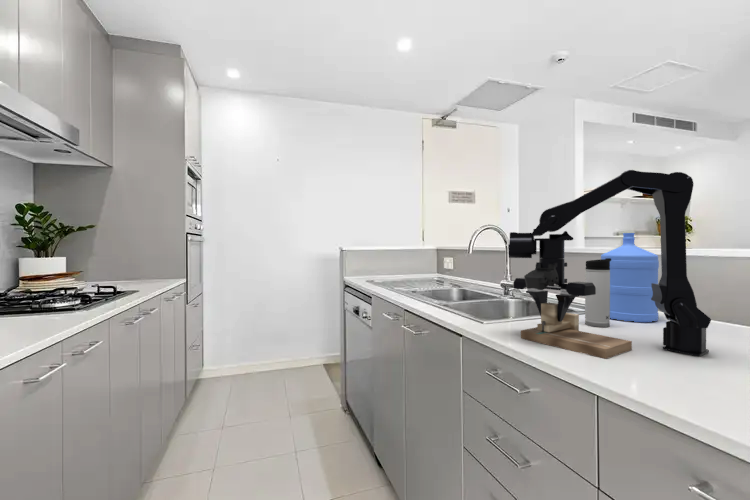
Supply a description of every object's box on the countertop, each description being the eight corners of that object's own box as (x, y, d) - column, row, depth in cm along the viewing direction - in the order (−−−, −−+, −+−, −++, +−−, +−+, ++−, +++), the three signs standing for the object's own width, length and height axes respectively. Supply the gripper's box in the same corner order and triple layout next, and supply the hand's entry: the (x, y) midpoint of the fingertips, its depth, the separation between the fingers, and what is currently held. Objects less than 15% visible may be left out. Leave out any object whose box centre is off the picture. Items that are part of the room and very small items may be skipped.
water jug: (671, 323, 110) (672, 232, 109) (620, 323, 110) (620, 232, 109) (635, 313, 125) (635, 234, 125) (590, 313, 125) (590, 234, 125)
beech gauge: (578, 333, 93) (578, 302, 93) (552, 340, 86) (552, 306, 86) (559, 330, 97) (560, 300, 97) (533, 336, 91) (533, 303, 91)
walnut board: (631, 349, 81) (631, 340, 81) (605, 358, 74) (606, 348, 74) (547, 332, 98) (547, 324, 98) (520, 338, 91) (520, 330, 91)
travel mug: (614, 328, 103) (615, 258, 103) (589, 327, 104) (590, 258, 104) (605, 323, 109) (605, 258, 109) (581, 322, 110) (582, 257, 110)
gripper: (500, 258, 94) (500, 317, 94) (571, 260, 78) (571, 331, 78) (526, 257, 100) (525, 313, 100) (596, 259, 84) (596, 325, 84)
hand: (551, 319), depth 91 cm, fingers open, 4 cm apart
